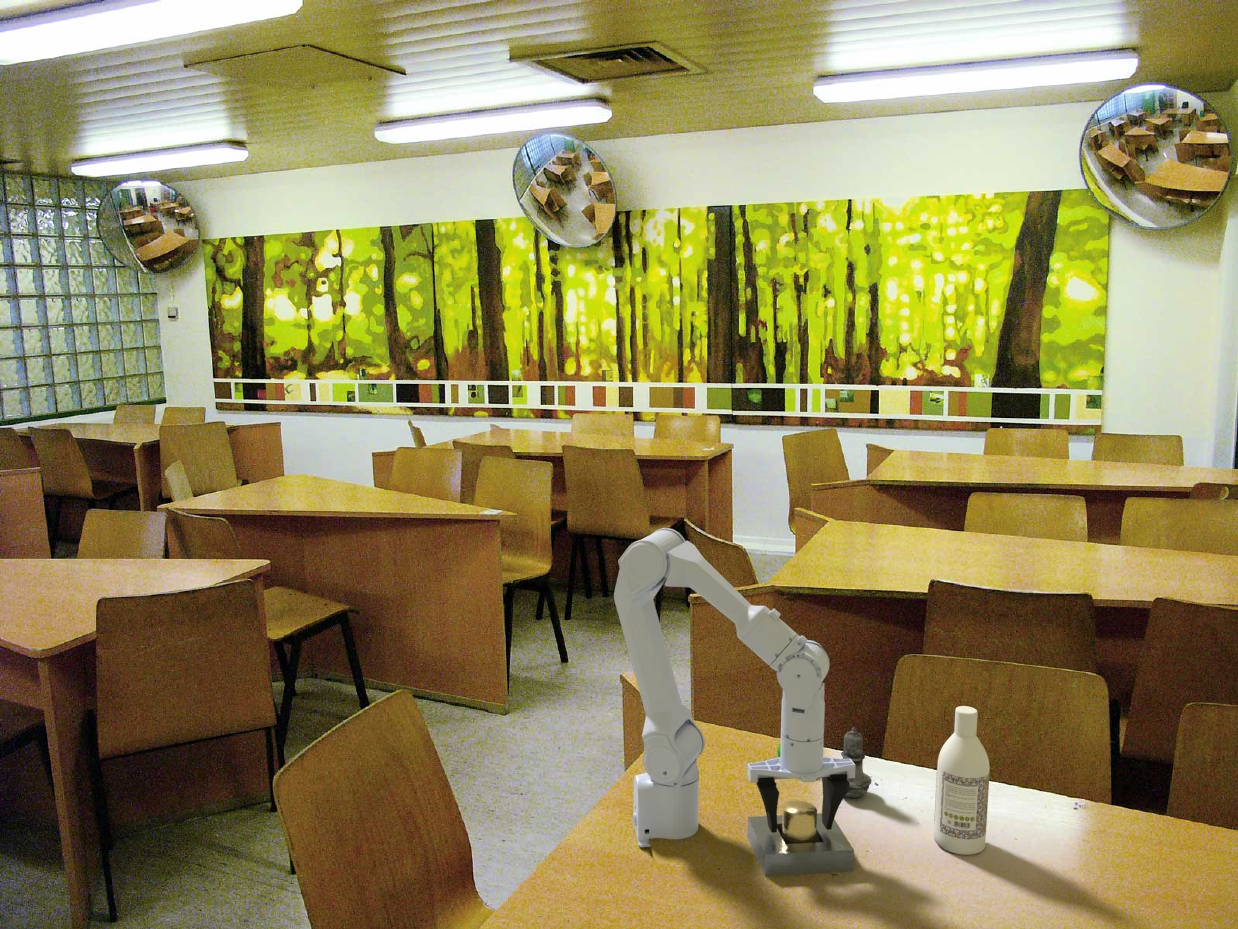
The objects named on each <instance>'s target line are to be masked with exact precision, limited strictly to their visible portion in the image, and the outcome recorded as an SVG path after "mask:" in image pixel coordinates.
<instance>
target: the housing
mask: <svg viewBox="0 0 1238 929" xmlns="http://www.w3.org/2000/svg"><path fill="white" fill-rule="evenodd" d="M782 822H783V814H780V815H778V814H777V832H775V833H772V832H771V831H770V829H769V827H768V821H767V815H764V816H763V815H760V816H758V815H757V816H748V817H747V839H748V842H749V844H750V845H751V848H752V850H753V853H754V855H755V857H756V860H757V862H758V864H759V866H760V869H761V870H762V873H763V875H764V877H774V876H791V875H806V874H807V875H809V874H827V873H829V874H830V873H844V872H847V873H848V872H854V861H855V860H854V857H855V856H854V855H855V853H854V852H855V849H854V848H853V846H852V845H851V843H850V841H849V840H848V838H847V837H846V835H845V834H844V832H843V831H842V829H841V827H840V826H839V824H838V823H837V821H836V819H835V818H834V821H833V824H832V829H831V830H827V829H826V828H825V826H824V824H823V823H822V812H819V813H818V812H817V828H816V843H799V844H785V843H784V841H783V839H782Z"/></svg>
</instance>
